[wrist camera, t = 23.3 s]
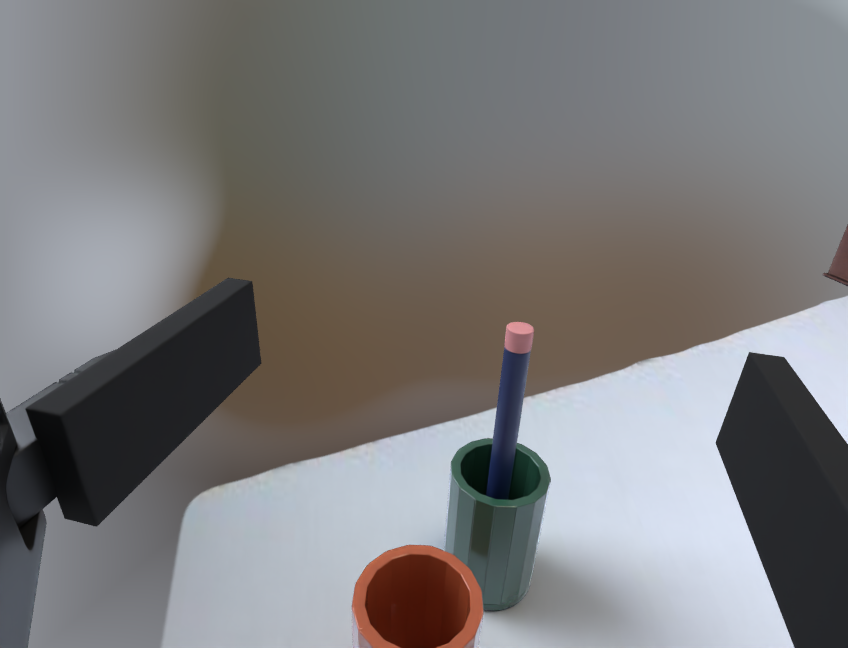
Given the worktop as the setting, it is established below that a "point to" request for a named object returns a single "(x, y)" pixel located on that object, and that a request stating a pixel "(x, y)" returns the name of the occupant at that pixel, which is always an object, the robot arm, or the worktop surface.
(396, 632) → the terracotta cup
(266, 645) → the worktop surface
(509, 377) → the pencil
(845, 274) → the desk organizer
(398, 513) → the worktop surface
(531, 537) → the green cup
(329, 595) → the worktop surface
